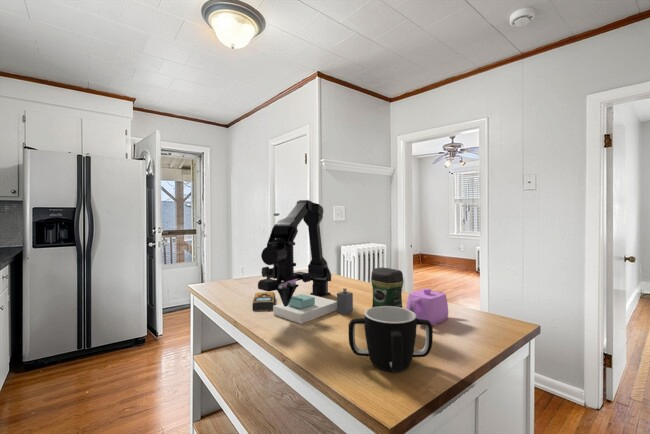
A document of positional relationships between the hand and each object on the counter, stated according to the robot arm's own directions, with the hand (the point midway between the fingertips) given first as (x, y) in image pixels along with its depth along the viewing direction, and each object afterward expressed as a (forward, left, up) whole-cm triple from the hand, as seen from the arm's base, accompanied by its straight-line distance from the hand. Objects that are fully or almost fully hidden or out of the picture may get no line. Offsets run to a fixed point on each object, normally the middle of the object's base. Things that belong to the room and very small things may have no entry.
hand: (285, 306), depth 105 cm
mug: (+4, +42, -5) cm, 43 cm away
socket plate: (-10, 0, -4) cm, 11 cm away
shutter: (-7, 0, -1) cm, 7 cm away
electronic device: (-6, -20, -5) cm, 22 cm away
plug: (-18, +11, -4) cm, 22 cm away
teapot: (-31, +36, -5) cm, 48 cm away
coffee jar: (-15, +30, -5) cm, 34 cm away
